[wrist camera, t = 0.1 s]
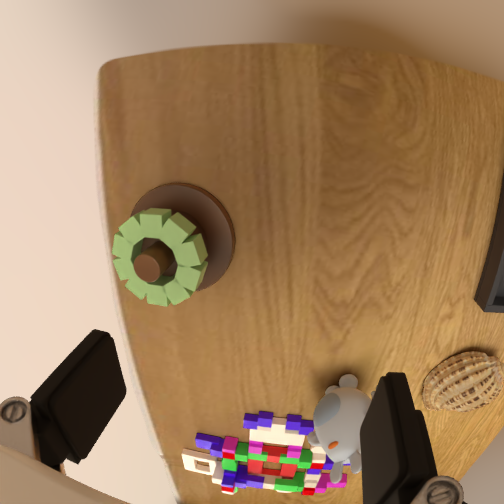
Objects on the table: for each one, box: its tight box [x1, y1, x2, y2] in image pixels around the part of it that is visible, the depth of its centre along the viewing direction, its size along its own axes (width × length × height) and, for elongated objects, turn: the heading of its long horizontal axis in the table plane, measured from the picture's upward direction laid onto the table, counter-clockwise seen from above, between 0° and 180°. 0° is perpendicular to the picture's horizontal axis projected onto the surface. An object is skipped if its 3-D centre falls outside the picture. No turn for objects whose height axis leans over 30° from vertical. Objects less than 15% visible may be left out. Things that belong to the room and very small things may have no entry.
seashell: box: [422, 351, 504, 412], centre depth 27 cm, size 8×6×10 cm
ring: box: [112, 208, 208, 307], centre depth 24 cm, size 7×8×2 cm
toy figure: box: [307, 374, 378, 484], centre depth 26 cm, size 11×6×12 cm, turn 145°
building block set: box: [182, 411, 350, 495], centre depth 37 cm, size 25×20×4 cm
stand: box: [130, 183, 235, 291], centre depth 26 cm, size 10×10×7 cm
